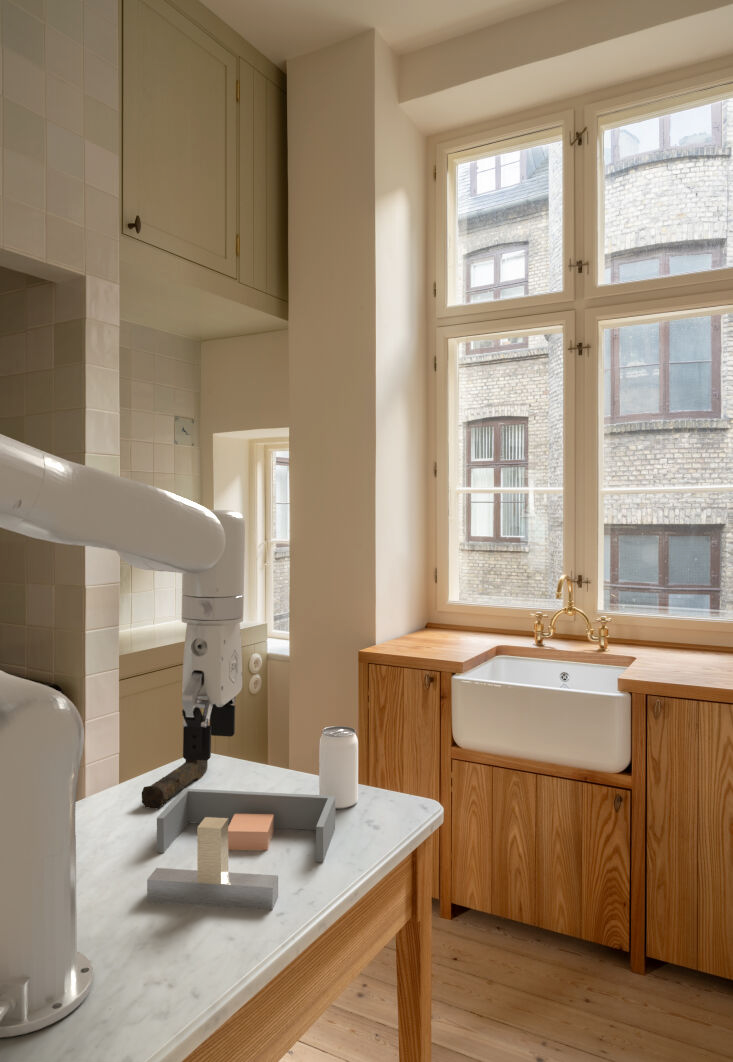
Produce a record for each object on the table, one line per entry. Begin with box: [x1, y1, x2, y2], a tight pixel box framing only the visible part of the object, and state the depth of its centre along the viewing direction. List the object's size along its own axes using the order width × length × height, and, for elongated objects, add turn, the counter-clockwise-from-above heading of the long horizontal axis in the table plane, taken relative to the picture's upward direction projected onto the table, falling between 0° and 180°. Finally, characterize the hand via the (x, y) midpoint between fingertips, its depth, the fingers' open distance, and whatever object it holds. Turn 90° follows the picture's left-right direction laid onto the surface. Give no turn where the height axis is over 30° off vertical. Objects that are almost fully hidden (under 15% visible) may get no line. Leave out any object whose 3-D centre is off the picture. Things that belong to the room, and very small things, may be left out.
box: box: [156, 787, 336, 863], centre depth 109 cm, size 11×24×5 cm, turn 84°
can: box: [318, 725, 359, 810], centre depth 123 cm, size 6×6×12 cm
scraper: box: [146, 817, 279, 911], centre depth 93 cm, size 3×16×10 cm, turn 84°
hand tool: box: [141, 759, 209, 810], centre depth 129 cm, size 19×4×5 cm, turn 162°
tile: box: [228, 814, 275, 851], centre depth 109 cm, size 6×6×3 cm
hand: (210, 746), depth 92 cm, fingers open, 9 cm apart
